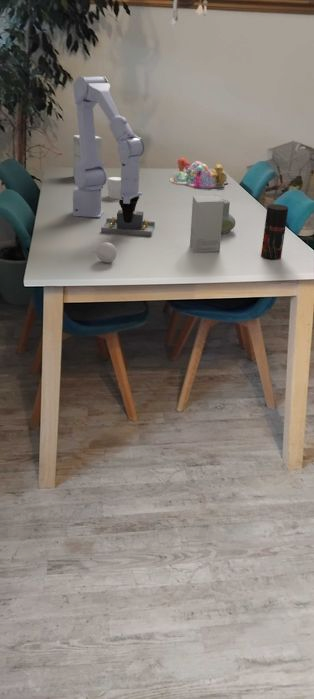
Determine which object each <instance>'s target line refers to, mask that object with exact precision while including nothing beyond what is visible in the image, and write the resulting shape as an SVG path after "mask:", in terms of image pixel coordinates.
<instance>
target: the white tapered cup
mask: <svg viewBox="0 0 314 699" xmlns="http://www.w3.org/2000/svg"><path fill="white" fill-rule="evenodd" d="M106 183H107V193H108V198H110V199H115V200H120V199H121V200H122V196H121V195H120V191H121V176H109V177H108V176H107V180H106Z"/></svg>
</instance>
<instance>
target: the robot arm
mask: <svg viewBox="0 0 314 699" xmlns="http://www.w3.org/2000/svg"><path fill="white" fill-rule="evenodd" d="M72 85H73V87H72V88H73V95H74V104H75V107H76V116H77V127H78V128H77V129H78V135H79V139H80V149H81V160H80V161H79V162H78V163H77V164H76V166H75V176H74V184H75V185H76V187H74V188H73V192H72V216H73V217H82V218H83V217H85V218H86V217H87V218H97V219H98V218H101V217H102V215H103V214H104V210H102V189H104V186H105V185H106V183H107V178H108V176H107V172H106V169H105V165H104V162H103V161H102V162H101V161H100V160H99V159H98V158H97V148H96V137H95V136H96V128H95V126H96V125H95V117H94V108H95V106H96V105H97V104H98V105H99V106H100V109H102V111H103V113H104V115H105V116H106V117H107V119H108V120H109V126H108V127H109V130H110V131H111V133H112V135H113V137H114V139H115V141H116V142H117V145H118V146H117V147H116V148H117V153H118V157H119V162H120V163H121V164H120V177H121V191H120V195H121V196H122V198H121V199H118V203H119V206H120V208H121V210H122V212H123V218H124V222H126V223H131V221H132V217H133V211H136V208H137V207H136V206H137V203H138V201H139V199H140V196H143V192H142V191H139V187H140V163H141V156H143V154H144V152H145V143H144V141H143V138H141V137H139V136H138V135H137V134H135V133H134V131H133V129H132V128H131V126H130V124H129V122H128V119H127V118H126V117H125V116H121V115H120V113H119V111H118V108H117V105H116V104H115V102H114V100H113V98H112V97H113V96H111V84H110V83H109V81H108V79H107V77H106V76H105V75H100V76H83V75H81V76H77V78H76V79H75V80H74V82H73V84H72ZM90 167H94V168H90ZM86 168H90V169H86Z"/></svg>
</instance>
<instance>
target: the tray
mask: <svg viewBox="0 0 314 699" xmlns="http://www.w3.org/2000/svg"><path fill="white" fill-rule="evenodd" d="M155 224H156V223H155V221H149V220H148V219H143V225H142V230H132V229H119V228H117V217H114V216H112V217H111V218H110V217H107V218H106V221H105V223H104V225H103V226H102V227H101V228H100V233H102V234H114V235H129V236H138V237H139V236H140V237H152V236H153V233H154V229H155Z"/></svg>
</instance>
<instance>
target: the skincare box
mask: <svg viewBox="0 0 314 699" xmlns="http://www.w3.org/2000/svg"><path fill="white" fill-rule="evenodd" d="M223 206H224V201H223V200H222V198H221V197H220V196H219V195H202V196H201V195H199V196H195V195H194V196H192V206H191V223H190V238H189V247H190V248H191V250H192V251H193V253H216V252H218V253H220V251H221V240H222V234H221V229H222V217H223Z"/></svg>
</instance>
